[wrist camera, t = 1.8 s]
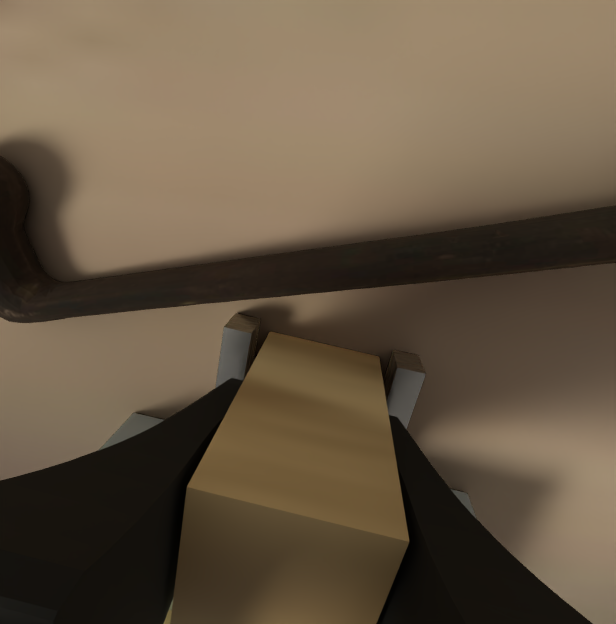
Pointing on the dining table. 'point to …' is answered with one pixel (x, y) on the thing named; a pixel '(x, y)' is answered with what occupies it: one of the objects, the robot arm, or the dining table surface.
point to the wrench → (295, 264)
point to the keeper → (397, 382)
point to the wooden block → (295, 496)
